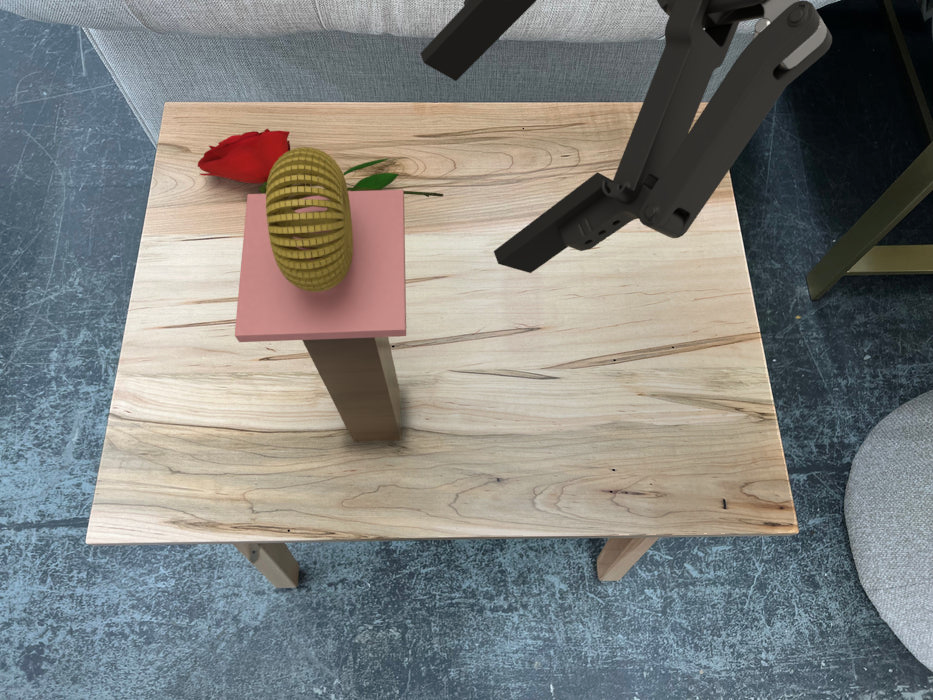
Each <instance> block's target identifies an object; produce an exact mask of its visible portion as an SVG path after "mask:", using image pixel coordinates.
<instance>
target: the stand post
mask: <svg viewBox="0 0 933 700" xmlns="http://www.w3.org/2000/svg"><path fill="white" fill-rule="evenodd" d="M301 341H302V343H303V344H304V346H305V349H306V350H307V352H308V354H309V356H310V358H311V361H312V362H313V365H314V367H315V368H316V370H317V372H318V375H319V376H320V379H321V381H322V382H323V384H324V387H325V389H326V390H327V392H328V394H329V396H330V397H331V400H332V403H333V404H334V406H335V408H336V410H337V412H338V414H339V417H340V418H341V420H342V422H343V424H344V426H345V428H346V430H347V432H348V434H349V436H350V438H351V440H352V442H353V443H358V442H381V441H401V440H402V395H401V390H400V385H399V380H398V375H397V372H396V367H395V363H394V358H393V357H394V356H393V353H392V348H391V344H390V337H371V338H344V339H316V340H301Z"/></svg>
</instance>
